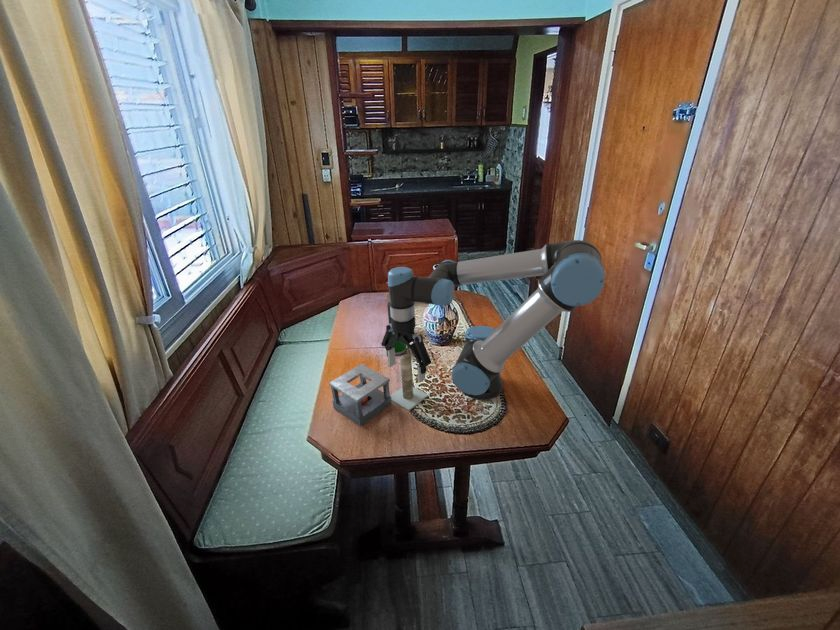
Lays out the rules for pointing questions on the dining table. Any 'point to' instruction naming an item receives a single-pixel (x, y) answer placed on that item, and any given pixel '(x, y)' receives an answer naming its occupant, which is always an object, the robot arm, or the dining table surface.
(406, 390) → the dowel
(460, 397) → the dining table surface
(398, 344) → the soda can
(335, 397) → the grey open frame cage
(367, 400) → the plunger
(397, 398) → the coaster
